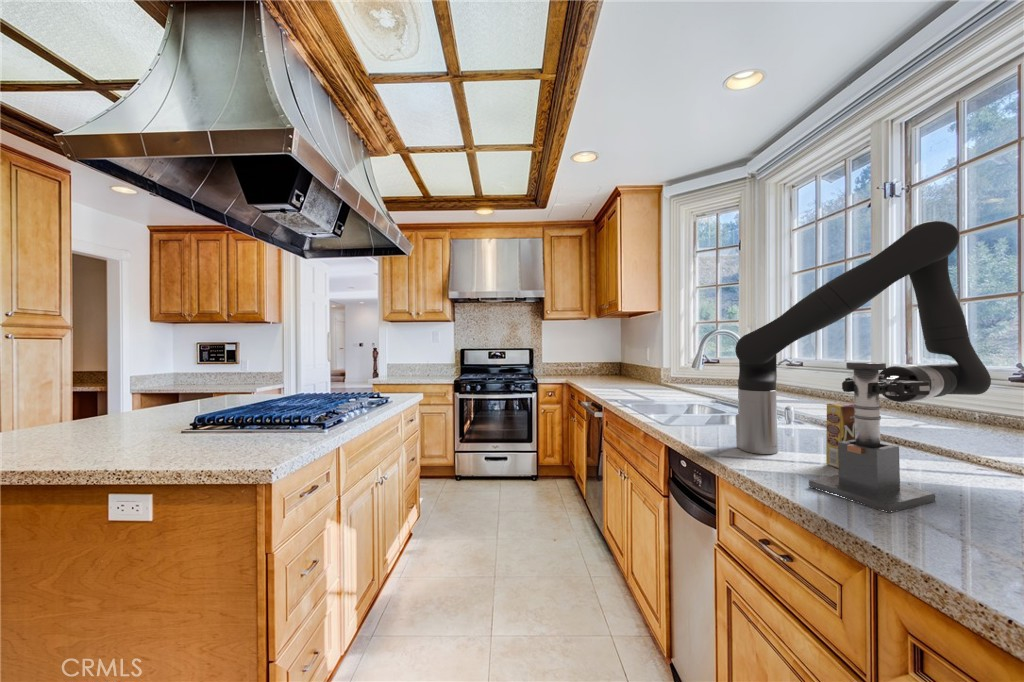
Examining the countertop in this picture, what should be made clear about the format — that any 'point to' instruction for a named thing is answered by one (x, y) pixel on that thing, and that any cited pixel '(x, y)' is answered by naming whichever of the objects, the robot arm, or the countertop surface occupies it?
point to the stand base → (872, 478)
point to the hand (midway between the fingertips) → (857, 387)
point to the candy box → (838, 429)
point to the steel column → (866, 403)
